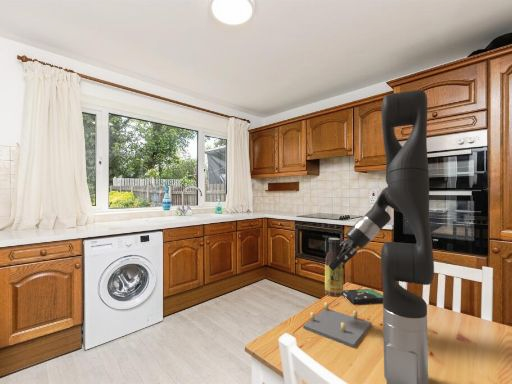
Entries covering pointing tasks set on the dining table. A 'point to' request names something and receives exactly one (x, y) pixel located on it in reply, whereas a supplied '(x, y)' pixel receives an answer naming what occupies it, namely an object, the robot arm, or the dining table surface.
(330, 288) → the sauce bottle
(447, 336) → the dining table surface
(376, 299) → the disk drive
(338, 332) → the standoff mount
